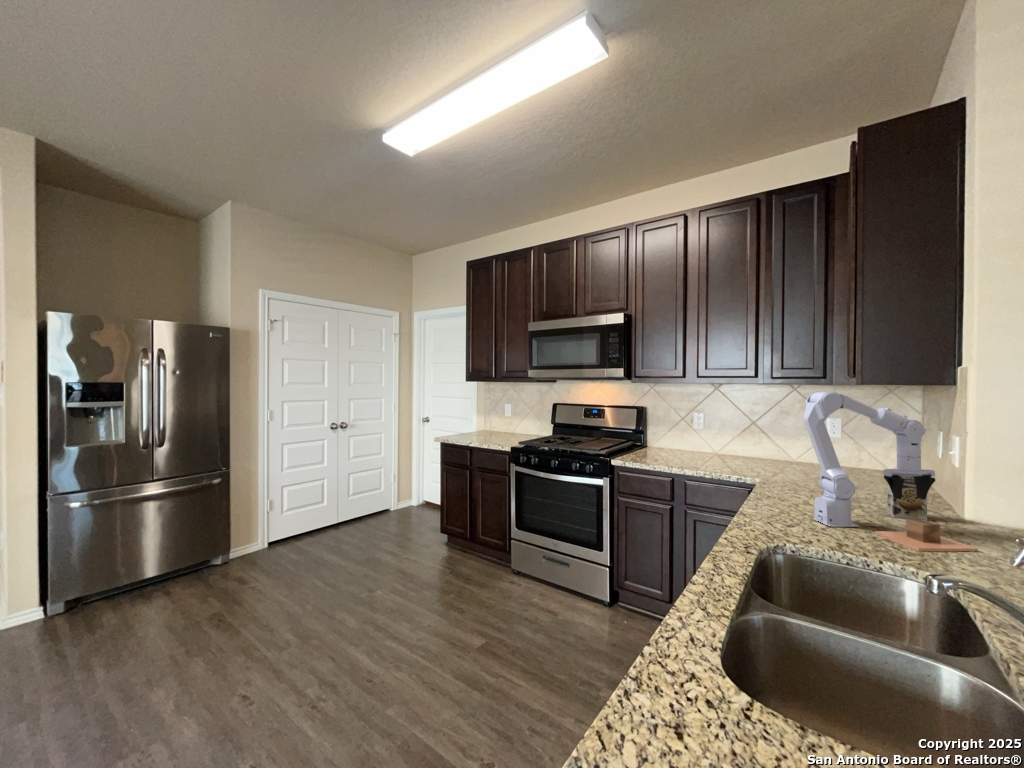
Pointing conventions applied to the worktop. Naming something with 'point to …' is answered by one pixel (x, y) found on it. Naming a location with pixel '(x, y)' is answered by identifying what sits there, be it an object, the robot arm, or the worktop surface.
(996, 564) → the worktop surface
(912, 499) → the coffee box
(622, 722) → the worktop surface
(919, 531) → the walnut cube
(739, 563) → the worktop surface
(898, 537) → the terracotta tile
